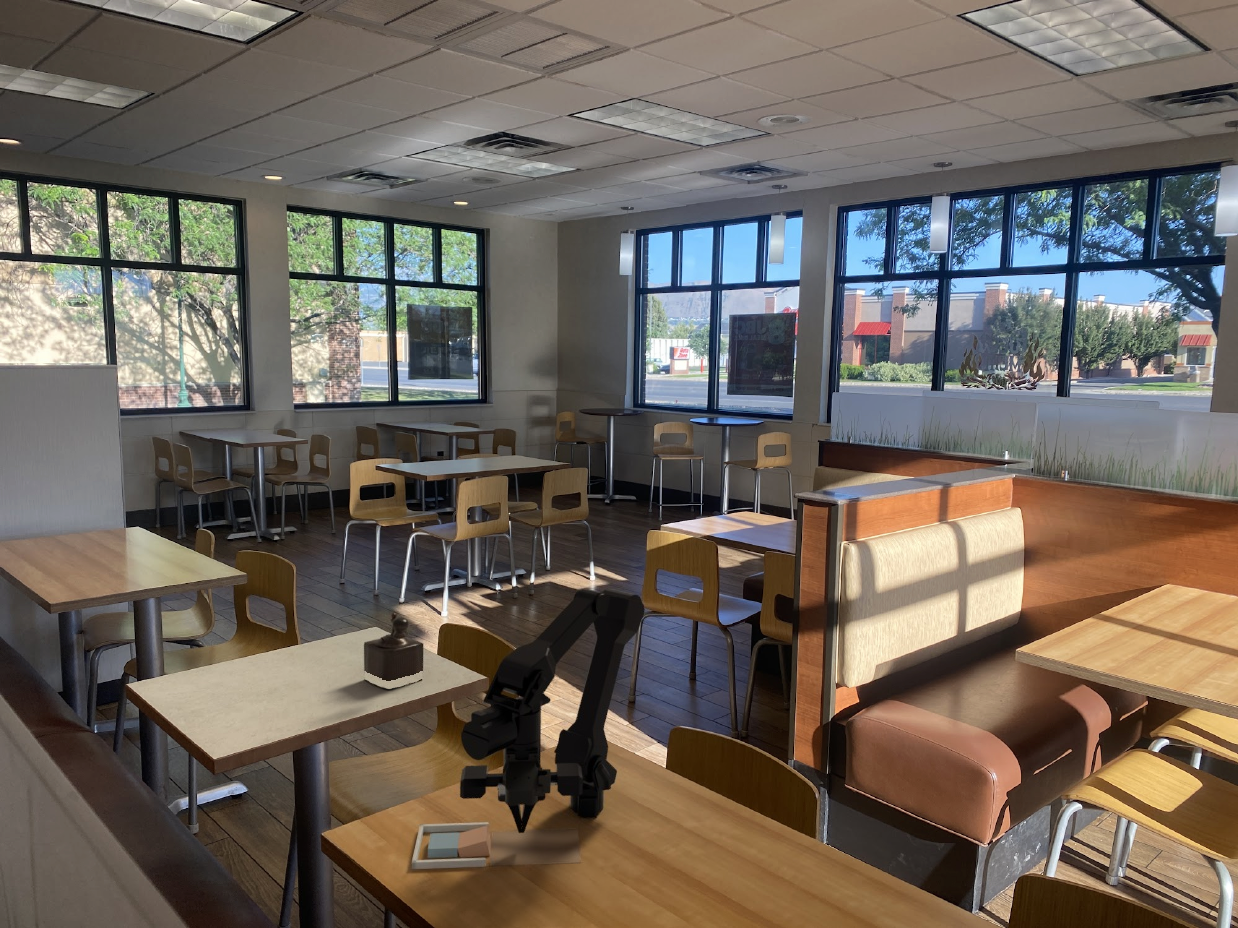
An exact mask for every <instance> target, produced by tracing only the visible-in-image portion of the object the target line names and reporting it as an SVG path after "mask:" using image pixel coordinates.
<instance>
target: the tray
mask: <svg viewBox="0 0 1238 928" xmlns="http://www.w3.org/2000/svg"><path fill="white" fill-rule="evenodd" d="M484 826H488V830H489V831H490V823H489V821H486V822H481V821H480V822H461V823H459V822H457V823H454V822H452V823H428V824H427V823H425V824H424V823H423V824H422V823H421V824H419V828H418V833H417V837H416V841H415V847H414V851H413V856H412V859H411V870H421V869H422V870H424V869H449V868H452V869H454V868H456V869H457V868H480V867H482V868H483V867H486V865H487V857H473V858H472V857H469V858H467V857H463V858H444V859H442V858H440V859H439V858H437V859H436V858H435V859H419V856H420V850H421V846H422V841H423V836H424V833H452V832H465V831H469V830H473V829H476V828H480V827H484Z"/></svg>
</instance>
